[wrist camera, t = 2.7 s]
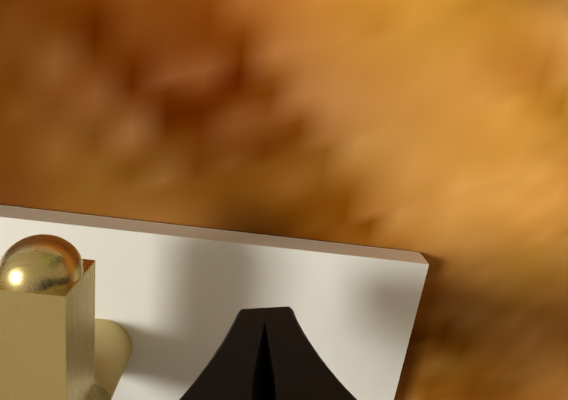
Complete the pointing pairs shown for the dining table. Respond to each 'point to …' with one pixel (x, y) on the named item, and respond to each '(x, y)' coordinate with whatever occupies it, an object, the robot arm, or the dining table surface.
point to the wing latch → (47, 322)
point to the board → (230, 298)
